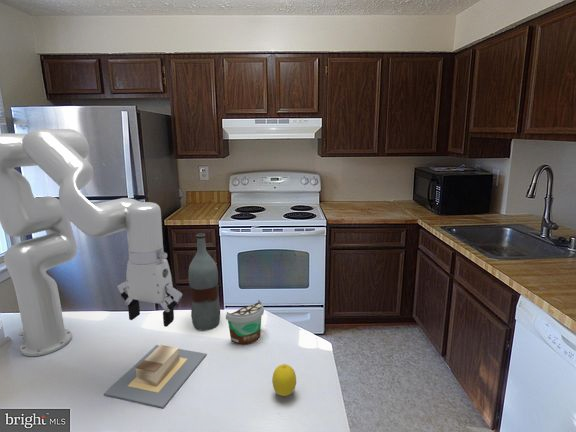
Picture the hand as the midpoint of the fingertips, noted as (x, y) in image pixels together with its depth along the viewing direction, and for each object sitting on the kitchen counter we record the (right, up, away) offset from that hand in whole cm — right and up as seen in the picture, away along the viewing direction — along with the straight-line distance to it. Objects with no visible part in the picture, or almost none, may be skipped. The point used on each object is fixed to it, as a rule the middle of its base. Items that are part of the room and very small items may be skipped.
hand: (151, 320), depth 86 cm
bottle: (+7, -9, +27) cm, 29 cm away
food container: (+22, -11, +18) cm, 31 cm away
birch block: (+1, -14, +3) cm, 14 cm away
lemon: (+33, -16, -4) cm, 37 cm away
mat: (+1, -15, +3) cm, 15 cm away
